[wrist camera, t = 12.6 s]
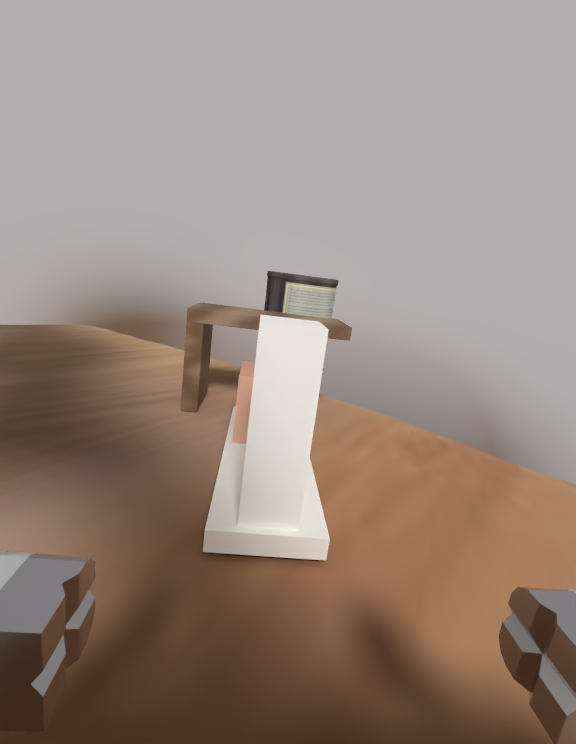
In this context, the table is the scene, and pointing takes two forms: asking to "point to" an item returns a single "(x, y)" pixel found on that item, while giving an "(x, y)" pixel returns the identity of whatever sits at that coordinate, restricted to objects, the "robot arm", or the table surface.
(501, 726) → the table surface
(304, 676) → the table surface
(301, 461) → the white pillar stand
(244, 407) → the cube
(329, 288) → the coffee can
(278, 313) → the shelf
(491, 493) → the table surface
